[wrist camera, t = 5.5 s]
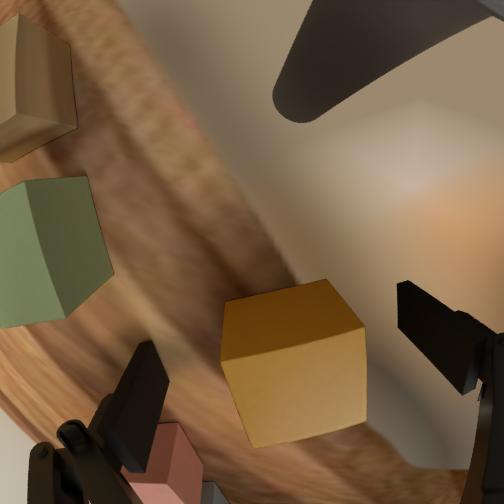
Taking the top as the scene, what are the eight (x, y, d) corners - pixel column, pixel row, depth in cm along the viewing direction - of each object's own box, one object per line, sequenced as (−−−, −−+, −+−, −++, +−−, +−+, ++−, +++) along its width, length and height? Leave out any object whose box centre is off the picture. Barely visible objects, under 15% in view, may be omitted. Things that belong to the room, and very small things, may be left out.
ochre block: (326, 277, 14) (365, 325, 9) (336, 360, 16) (366, 421, 11) (224, 301, 14) (219, 361, 10) (248, 381, 16) (252, 449, 11)
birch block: (70, 46, 11) (19, 12, 6) (78, 128, 12) (16, 113, 7) (5, 86, 11) (-51, 72, 6) (10, 163, 12) (-53, 166, 7)
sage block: (87, 175, 13) (24, 180, 8) (114, 274, 14) (66, 318, 9) (18, 205, 13) (-45, 221, 8) (44, 291, 14) (-9, 330, 9)
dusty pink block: (178, 421, 16) (166, 484, 11) (203, 464, 18) (199, 519, 13) (112, 424, 16) (90, 478, 12) (142, 466, 18) (130, 516, 13)
